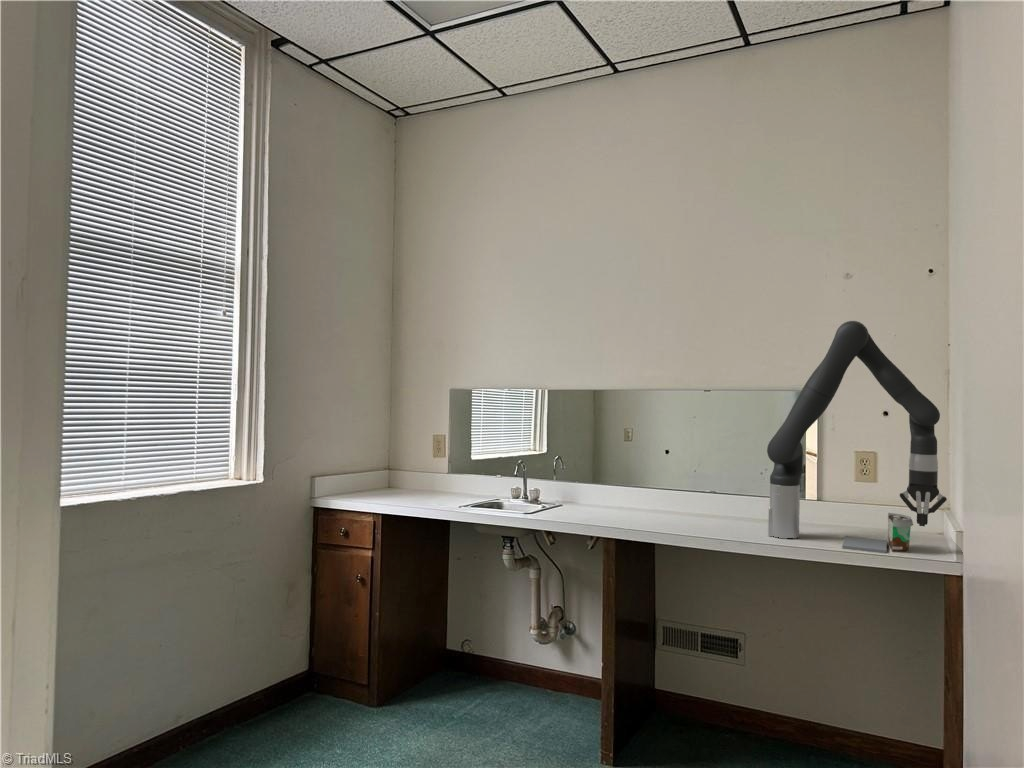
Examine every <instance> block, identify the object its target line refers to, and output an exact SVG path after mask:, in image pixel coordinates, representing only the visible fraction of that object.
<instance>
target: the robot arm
mask: <svg viewBox="0 0 1024 768" xmlns="http://www.w3.org/2000/svg"><path fill="white" fill-rule="evenodd" d="M856 357H857V358H858V359H859V361H861V362H862V363H863V364H864V365H865V366H866V368H867V369H868V370H869V372H870V373H871V374H872V375H873V377H874V379H876V381H877V382H878V384H879V385H880V386H881V387H882V388H883V389H884V390H885V391H886V393H887V394H888V396H890V397H891V398H892V400H894V402H896V403H897V404H899V405H900V406H902V407H903V408H904V410H905V411H906V412H907V413H908V420H909V421H908V423H909V431H910V447H909V449H910V453H909V459H908V486H907V488H906V490H905V491H903V492H900V493H899V498H900V499H901V500H902V501H903V503H905V505H906V506H907V508H909V510H910V511H911V512H915V513H916V523H917V524H918V526H919V527H926V525H928V523H929V522H928V520H929V519H928V517H929V516H928V515H929V514H931V513H933V514H934V513H935V512H936V511H938V509H939V508H940V507H942V506H943V504H944V503H946V502H947V500H948V498H947V497H946V495H943V494H941V493H940V490H939V487H938V477H939V476H938V473H939V472H938V471H939V465H938V464H939V461H938V439H937V437H936V433H935V425H937V424H938V422H939V421H940V418H941V413H940V410H939V409H938V407H937V406H936V405H935V404H934V402H932V401H931V400H930V399H929V398H928V397H927V396H925V395H924V394H923V393H922V392H920V390H918V388H917V387H916V385H915V384H914V383H913V382H912V381H911V380H910V379H909V378H908V377H907V376H906V375H905V373H903V372H902V371H901V369H900V368H899V367H898V366H896V364H894V363H893V362H892V361H891V360H890V359H889V357H887V356H886V354H884V352H883V351H882V350H881V348H879V346H878V345H877V344H876V342H875V341H874V339H873V338H872V336H871V335H870V332H869V331H868V328H867V327H866V325H864V324H863V323H862V322H860V321H857V320H849V321H845V322H844V323H842V324H840V326H838V328H837V329H836V331H835V334H834V337H833V340H832V342H831V345H830V346H829V348H828V350H827V353H826V354H825V356H824V358H823V359H822V361H821V362H820V363H819V365H818V366H816V368H815V370H814V371H812V374H811V375H810V376H809V378H808V379H807V381H806V383H805V384H804V386H803V387H802V389H801V391H800V392H799V395H798V396H797V398H796V400H795V402H794V404H793V405H792V407H791V409H790V411H789V413H788V414H787V417H786V418H785V420H784V421H783V423H782V424H781V426H780V427H779V428H778V429H777V431H776V433H775V434H774V436H772V438H771V440H770V441H769V442H768V444H767V449H766V452H767V453H766V454H767V456H768V458H769V460H770V461H771V462H772V463H773V469H772V472H771V473H770V476H769V506H768V511H767V512H768V515H767V518H768V519H767V520H768V521H767V522H768V524H767V526H768V527H767V532H768V533H767V536H768V537H769V536H770V537H773V536H774V538H778V537H779V538H780V539H787V538H793V539H797V537H798V538H800V509H801V508H800V504H801V502H800V497H801V489H800V488H801V485H800V484H801V479H802V478H801V477H802V474H803V463H804V461H803V458H804V457H803V455H804V451H803V449H804V448H803V445H802V443H801V441H802V440H803V437H804V435H805V434H806V432H807V431H808V430H809V428H811V426H812V425H813V424H814V423H815V422H816V421H817V420H819V418H821V416H822V415H823V414H824V412H825V411H826V410H827V408H828V407H829V405H830V404H831V402H832V400H833V398H834V397H835V396H836V393H837V391H838V389H839V387H840V386H841V383H842V380H843V378H844V376H845V374H846V371H847V370H848V368H849V366H850V365H851V363H853V360H854V359H855V358H856ZM909 496H910V497H911V498H912V500H914V501H915V502H916V506H915V505H914V504H913V503H912V502H911V500H909ZM936 497H937V498H936ZM935 499H936V500H937V501H936V502H935V503H934V504H933V505H932V506H931V507H930V503H932V502H933V500H935ZM922 503H923V510H922ZM779 538H778V539H779Z"/></svg>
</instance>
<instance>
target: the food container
mask: <svg viewBox="0 0 1024 768" xmlns="http://www.w3.org/2000/svg"><path fill="white" fill-rule="evenodd" d="M913 526H914V521H913V519H912V517H911V516H909V515H905V514H901V513H894V512H892V513H891V512H888V513H887V537H888V538H887V547H889V549H890V551H891V552H892V553H906V552H908V551H909V547H910V540H911V539H910V537H911V529H912V528H911V527H913Z"/></svg>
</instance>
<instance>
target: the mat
mask: <svg viewBox="0 0 1024 768" xmlns="http://www.w3.org/2000/svg"><path fill="white" fill-rule="evenodd" d="M843 539H844V540H843V543H842V546H841V547H842V548H841V549H847V550H852V551H853V550H855V551H856V550H857V551H863V552H864V551H865V552H872V553H873V552H874V553H882V554H887V549H888V548H887V547H888V539H880V538H871V537H860V536H851V535H845V536H844V538H843Z"/></svg>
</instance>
